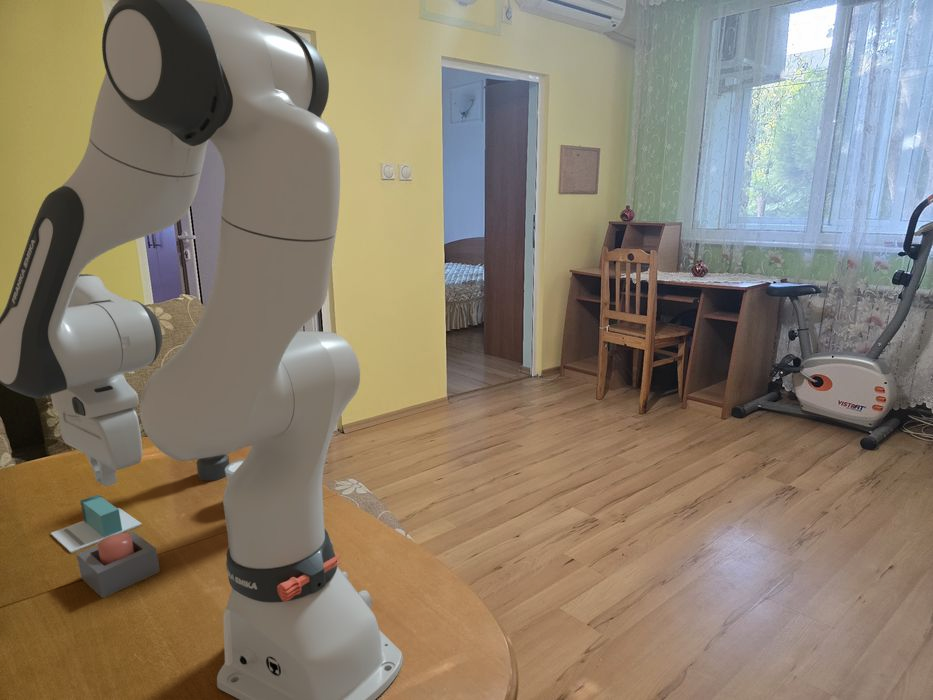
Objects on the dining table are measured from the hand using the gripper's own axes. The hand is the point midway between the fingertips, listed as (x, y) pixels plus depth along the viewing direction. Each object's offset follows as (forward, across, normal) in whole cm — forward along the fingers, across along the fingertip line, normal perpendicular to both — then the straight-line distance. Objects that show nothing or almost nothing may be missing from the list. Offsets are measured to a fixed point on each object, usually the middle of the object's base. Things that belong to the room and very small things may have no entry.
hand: (106, 482), depth 87 cm
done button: (+14, -1, 0) cm, 15 cm away
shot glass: (+15, -7, +25) cm, 30 cm away
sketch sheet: (+15, -19, +3) cm, 24 cm away
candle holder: (+15, -23, +27) cm, 38 cm away
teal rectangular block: (+14, -19, +4) cm, 24 cm away
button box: (+15, -1, 0) cm, 15 cm away
